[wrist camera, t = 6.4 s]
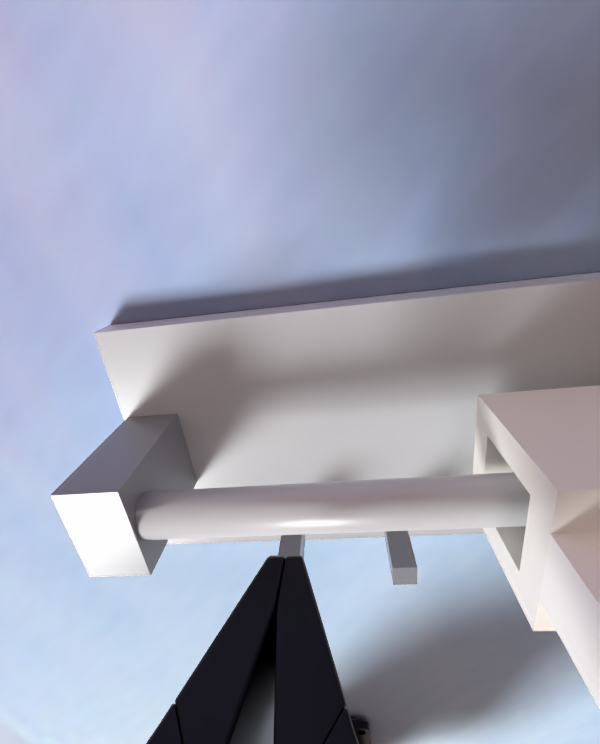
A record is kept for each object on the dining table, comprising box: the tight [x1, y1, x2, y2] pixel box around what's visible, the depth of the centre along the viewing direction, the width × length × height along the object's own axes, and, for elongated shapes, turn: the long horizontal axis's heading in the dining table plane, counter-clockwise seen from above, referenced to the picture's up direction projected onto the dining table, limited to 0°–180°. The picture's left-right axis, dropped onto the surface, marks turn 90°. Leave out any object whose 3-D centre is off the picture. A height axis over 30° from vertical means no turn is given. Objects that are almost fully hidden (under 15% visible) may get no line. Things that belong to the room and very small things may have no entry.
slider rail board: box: [50, 272, 600, 585], centre depth 11 cm, size 22×10×7 cm, turn 97°
